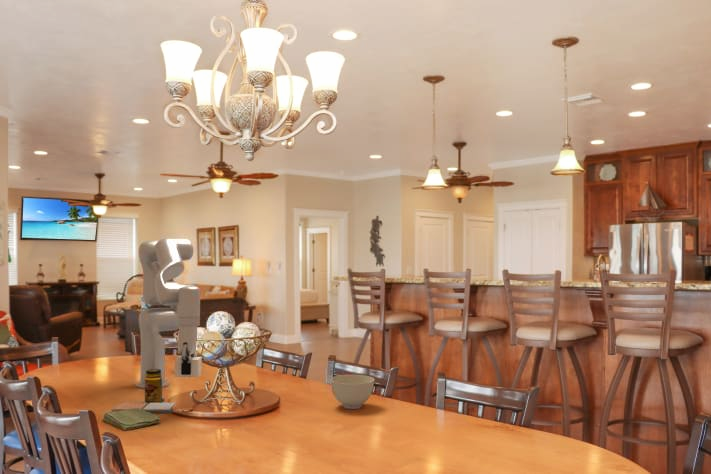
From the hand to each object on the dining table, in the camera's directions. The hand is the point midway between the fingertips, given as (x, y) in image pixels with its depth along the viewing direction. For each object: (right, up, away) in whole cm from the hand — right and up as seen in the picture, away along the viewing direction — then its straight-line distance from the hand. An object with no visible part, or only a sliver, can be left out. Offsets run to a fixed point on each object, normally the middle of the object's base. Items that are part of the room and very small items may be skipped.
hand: (188, 372), depth 226 cm
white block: (0, -1, 0) cm, 1 cm away
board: (-15, -13, -1) cm, 20 cm away
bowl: (+58, -14, +6) cm, 60 cm away
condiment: (-15, -13, +10) cm, 23 cm away
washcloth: (-14, -14, -16) cm, 25 cm away
